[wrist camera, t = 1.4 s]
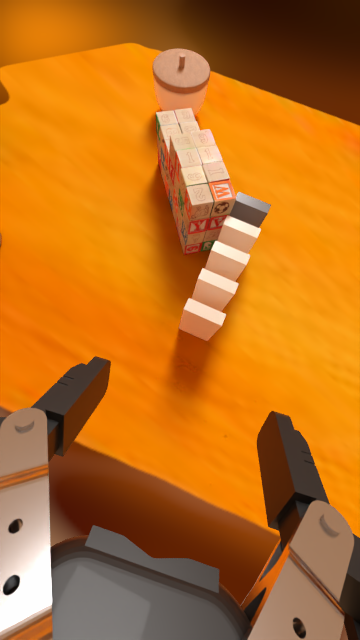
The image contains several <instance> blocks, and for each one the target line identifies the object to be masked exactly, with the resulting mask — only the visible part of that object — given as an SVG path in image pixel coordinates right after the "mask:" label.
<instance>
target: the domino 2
mask: <svg viewBox="0 0 360 640" xmlns="http://www.w3.org/2000/svg"><path fill="white" fill-rule="evenodd" d="M260 231H261V229H260V228H257V227H255V226H252V225H250V224H247V223H245V222H243V221H240V220H238V219H235V218H233V217H231V216H228V215H227V217H226V219H225V221H224V224H223V226H222V229H221V232H220V235H219V237H218V240H217V241H218V242H220V243H223V244H225V245H227V246H230V247H232V248H235V249H237V250H239V251H242V252H244V253H246V254H248V252H249V251H250V249H251V248H252V246H253V244H254V243H255V241H256V240H257V238H258V235H259V233H260Z"/></svg>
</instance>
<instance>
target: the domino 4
mask: <svg viewBox="0 0 360 640" xmlns="http://www.w3.org/2000/svg"><path fill="white" fill-rule="evenodd" d="M238 285H239V283H236V282H234V281H232V280H229V279H227V278H225V277H222V276H220V275H218V274H215V273H213V272H211V271H208V270H206V269H204V268H202V271H201V273H200V275H199V277H198V280H197V283H196V286H195V289H194V292H193V296H192V299H193V300H195V301H197V302H200V303H202V304H204V305H206V306H209V307H211V308H213V309H215V310H218V311H220V312H221V311H222V310H223V309H224V307H225V306H226V305H227V304H228V302H229V301H230V300H231V298H232V297H233V296H234V294H235V292H236V289H237V287H238Z"/></svg>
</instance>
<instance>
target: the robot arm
mask: <svg viewBox="0 0 360 640" xmlns="http://www.w3.org/2000/svg"><path fill="white" fill-rule="evenodd" d="M0 245H1V234H0ZM110 365H111V362H110V361H109V360H106V359H103V358H99V357H96V356H95V357H94V358H93V359H92V360H91V361H90V362H89V363H88V364H87V365H85V364H82V363H81V364H79V365H76V366H74V367H72V368H71V369H70V370H69V371H68V372H67V373H66V374H64V376H63V377H61V378H60V379H59V380H58V381H57V383H55V384H54V385H53V386H52V387H51V388H50V389H49V390H48V391H47V392H46V393H45V394H44V395H43V396H42V397H41V398H40V399H39V400H38V401H37V402H36V403H35V404H34V405H33V406H32V407H31V408H25V409H21V410H18V411H16V412H14V413H12V414H10V415H9V416H8V417H0V640H340V636H341V632H342V628H343V623H344V624H345V628H346V632H347V636H348V640H360V538H359V537H357V536H356V535H354V534H353V533H352V531H351V528H350V526H349V525H348V523H347V521H346V520H345V519H344V517H343V516H342V515H341V514H340V513H339V512H338V511H337V510H336V509H335V508H334V507H332V506H331V505H330V504H329V501H328V498H327V496H326V493H325V490H324V488H323V485H322V482H321V479H320V477H319V474H318V471H317V468H316V466H315V465H314V464H315V463H314V460H313V457H312V456H311V452H310V449H309V446H308V444H307V442H306V440H305V439H304V437H303V436H302V435H301V433H300V432H299V431H297V430H294V427H293V424H292V421H291V418H290V417H289V416H287V415H284V414H281V413H277V412H274V411H271V412H270V414H269V415H268V417H267V419H266V421H265V423H264V424H263V426H262V428H261V430H260V432H259V434H258V438H257V450H258V457H259V464H260V471H261V478H262V486H263V493H264V500H265V507H266V514H267V521H268V527H270V528H273V529H276V530H279V532H280V538H281V539H280V540H279V542H278V543H277V545H276V547H275V549H274V550H273V552H272V554H271V556H270V558H269V559H268V561H267V563H266V565H265V567H264V568H263V570H262V572H261V574H260V576H259V578H258V579H257V581H256V583H255V585H254V586H253V588H252V589H251V591H250V592H249V594H248V595H247V597H246V598H245V600H244V601H243V603H242V605H241V606H240V605H239V604H238V602H237V601H236V599H235V598H234V597H233V596H232V595H231V594H230V592H229V591H228V590H227V589H226V588H225V587H224V586H223V585H222V584H220V583H219V570H218V569H216V568H214V567H211V566H208V565H205V564H202V563H199V562H197V561H194V560H191V559H188V558H170V559H169V558H167V559H166V558H165V559H155V558H152V557H150V556H149V555H147V554H146V553H145V552H143V551H142V550H141V549H140V548H138V547H137V546H136V545H135V544H133V543H132V542H131V541H129V540H128V539H127V538H126V537H124V536H123V535H120V534H117V533H114V532H111V531H108V530H105V529H102V528H100V527H97V526H94V525H93V527H92V529H91V532H90V534H89V536H78V537H73V538H70V539H66V540H64V541H62V542H60V543H57V544H55V545H54V546H52V547H50V517H49V483H48V481H49V478H48V462H49V461H50V460H51V458H52V457H53V456H54V454H56V455H59V456H64V455H65V453H66V451H67V450H68V449H69V447H70V445H71V444H72V443H73V441H74V440H75V438H76V437H77V435H78V434H79V432H80V431H81V429H82V428H83V426H84V425H85V423H86V422H87V420H88V419H89V417H90V416H91V414H92V413H93V411H94V410H95V408H96V407H97V406H98V404H99V403H100V401H101V400H102V398H103V397H104V395H105V393H106V390H107V387H108V381H109V373H110Z"/></svg>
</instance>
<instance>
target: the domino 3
mask: <svg viewBox="0 0 360 640" xmlns="http://www.w3.org/2000/svg"><path fill="white" fill-rule="evenodd" d="M249 258H250V255H249V254H246V253H244V252H242V251H239V250H237V249H235V248H232V247H230V246H227V245H225V244H223V243H220V242H218V241H215V243H214V245H213V247H212V249H211V252H210V255H209V258H208V261H207V264H206V267H205V269H206V270H208V271H211V272H213V273H215V274H218V275H220V276H222V277H225V278H227V279H229V280H232V281H234V282H235V281H236V280H237V278H238V277H239V275H240V274H241V272H242V271H243V269H244V268H245V266H246V265H247V263H248V260H249Z"/></svg>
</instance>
